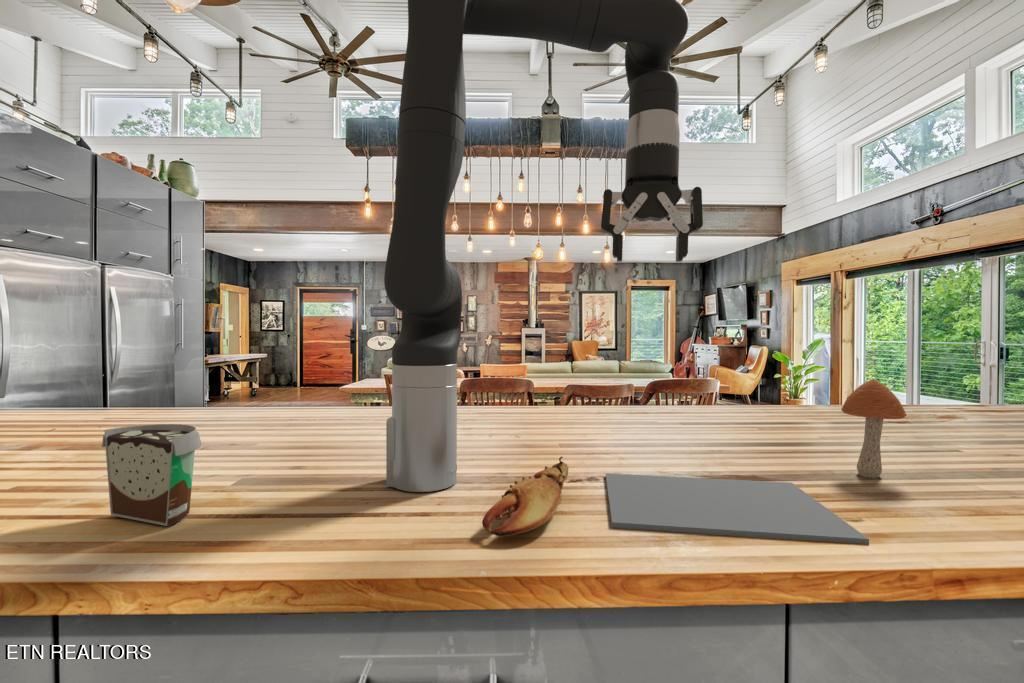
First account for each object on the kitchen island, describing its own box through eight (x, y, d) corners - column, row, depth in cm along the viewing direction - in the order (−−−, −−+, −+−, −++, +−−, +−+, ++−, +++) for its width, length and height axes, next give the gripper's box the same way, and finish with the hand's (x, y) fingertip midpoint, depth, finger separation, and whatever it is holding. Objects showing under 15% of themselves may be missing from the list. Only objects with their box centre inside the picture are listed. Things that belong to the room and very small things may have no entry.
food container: (226, 508, 59) (225, 427, 59) (176, 527, 53) (176, 437, 53) (155, 496, 63) (155, 420, 63) (102, 513, 57) (101, 429, 57)
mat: (611, 527, 54) (612, 522, 54) (605, 477, 72) (605, 473, 72) (869, 544, 50) (869, 539, 50) (791, 486, 68) (791, 482, 68)
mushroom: (896, 473, 75) (897, 378, 75) (913, 488, 68) (915, 382, 68) (835, 467, 78) (837, 375, 78) (845, 481, 71) (847, 380, 71)
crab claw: (594, 459, 64) (527, 538, 47) (589, 493, 66) (522, 581, 49) (548, 444, 68) (468, 512, 50) (543, 476, 69) (465, 554, 52)
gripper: (603, 142, 68) (600, 257, 68) (709, 137, 66) (705, 257, 66) (602, 161, 75) (600, 265, 76) (698, 157, 73) (694, 264, 73)
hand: (649, 261), depth 71 cm, fingers open, 8 cm apart
